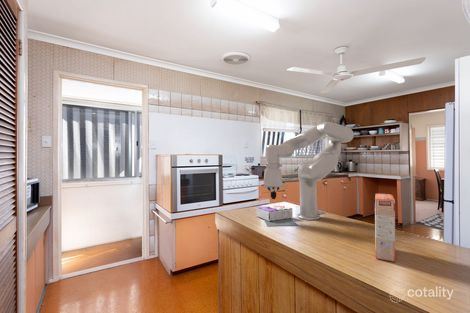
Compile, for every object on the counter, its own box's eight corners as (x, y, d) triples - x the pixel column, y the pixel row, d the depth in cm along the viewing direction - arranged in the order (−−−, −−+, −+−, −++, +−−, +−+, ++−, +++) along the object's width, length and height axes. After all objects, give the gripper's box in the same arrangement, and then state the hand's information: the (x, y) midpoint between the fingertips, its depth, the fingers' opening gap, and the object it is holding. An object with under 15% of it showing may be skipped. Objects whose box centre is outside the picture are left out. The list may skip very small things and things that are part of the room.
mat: (287, 214, 144) (287, 214, 144) (298, 225, 120) (298, 225, 120) (261, 214, 143) (261, 214, 143) (267, 226, 119) (267, 225, 119)
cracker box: (396, 263, 76) (395, 199, 76) (375, 259, 79) (374, 198, 79) (394, 248, 88) (393, 193, 88) (375, 245, 91) (374, 192, 91)
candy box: (256, 206, 139) (278, 204, 146) (256, 216, 139) (278, 213, 146) (268, 211, 126) (292, 207, 133) (269, 221, 126) (293, 218, 133)
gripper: (284, 166, 135) (285, 197, 135) (258, 166, 135) (259, 198, 135) (287, 166, 128) (288, 199, 128) (260, 167, 128) (261, 200, 128)
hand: (273, 198), depth 132 cm, fingers closed
